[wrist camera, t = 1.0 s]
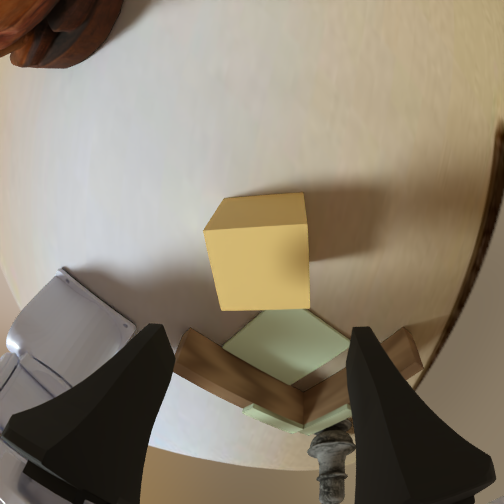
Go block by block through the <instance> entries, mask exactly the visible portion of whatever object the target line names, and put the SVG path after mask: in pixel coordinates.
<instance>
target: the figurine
mask: <svg viewBox="0 0 504 504" xmlns="http://www.w3.org/2000/svg"><path fill="white" fill-rule="evenodd" d="M122 3H123V0H0V57H3V56H5V55H7V54H9V53H11V55H10V60H11V63H12V64H13V65H16V66H19V67H32V68H61V69H64V68H68V67H71V66H73V65H76V64H78V63H80V62H82V61H83V60H85V59H86V58H87V57H88V56H90V55H91V54H92V53H93V52H94V51H95V50H96V49H97V48H98V47H99V46H100V45H101V44H102V43H103V42H104V41H105V39H106V38H107V36H108V35H109V33H110V31H111V29H112V27H113V25H114V23H115V21H116V19H117V17H118V15H119V12H120V10H121V6H122Z"/></svg>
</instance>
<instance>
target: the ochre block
mask: <svg viewBox="0 0 504 504" xmlns="http://www.w3.org/2000/svg"><path fill="white" fill-rule="evenodd" d="M203 233H204V237H205V242H206V247H207V251H208V256H209V260H210V265H211V269H212V274H213V278H214V282H215V287H216V291H217V295H218V299H219V304H220V308H221V311H241V310H284V309H308V308H310V280H309V248H308V226H307V217H306V209H305V202H304V194H303V192H301V193H285V194H271V195H258V196H246V197H234V198H224V199H223V201H222V202H221V204H220V205H219V207H218V208H217V210H216V211H215V213H214V214H213V216H212V218H211V219H210V221H209V222H208V224H207V225H206V227H205V229H204V230H203Z"/></svg>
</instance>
